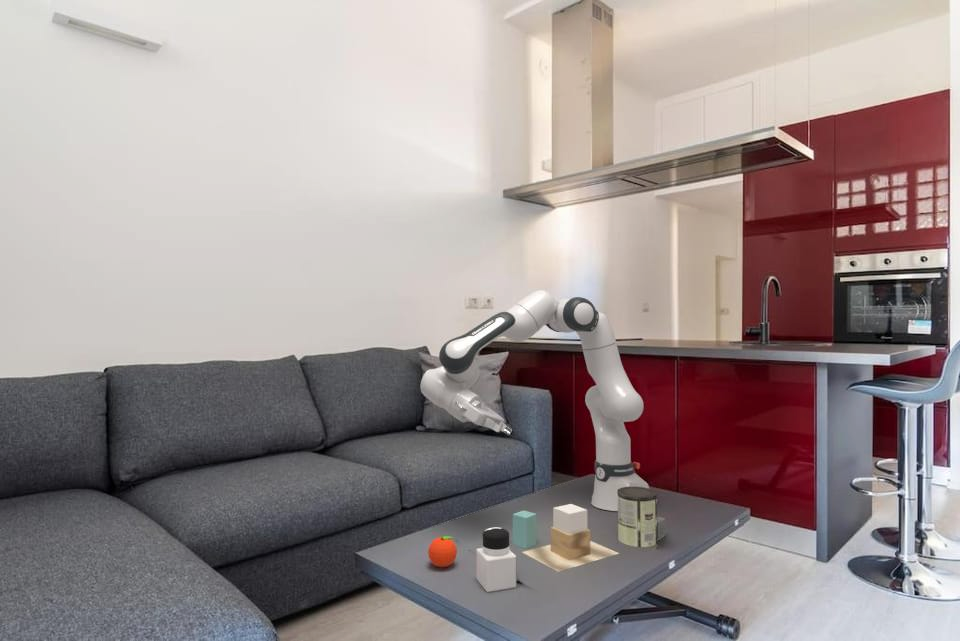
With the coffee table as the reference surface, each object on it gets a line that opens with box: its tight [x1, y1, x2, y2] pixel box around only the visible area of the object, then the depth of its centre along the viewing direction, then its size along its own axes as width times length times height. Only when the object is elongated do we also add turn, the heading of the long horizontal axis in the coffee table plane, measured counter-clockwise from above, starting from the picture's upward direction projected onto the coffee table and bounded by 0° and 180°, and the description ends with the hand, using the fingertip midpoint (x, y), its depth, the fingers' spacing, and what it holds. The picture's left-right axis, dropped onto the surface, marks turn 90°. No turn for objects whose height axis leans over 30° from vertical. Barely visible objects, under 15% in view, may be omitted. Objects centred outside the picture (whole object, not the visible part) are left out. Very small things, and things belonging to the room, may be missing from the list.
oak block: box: [550, 526, 591, 560], centre depth 144 cm, size 7×7×6 cm
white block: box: [552, 503, 588, 535], centre depth 144 cm, size 6×6×5 cm
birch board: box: [521, 540, 620, 573], centre depth 143 cm, size 20×14×1 cm
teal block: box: [512, 509, 538, 550], centre depth 150 cm, size 4×4×9 cm
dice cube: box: [657, 516, 666, 539], centre depth 158 cm, size 5×5×5 cm
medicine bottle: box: [475, 527, 517, 593], centre depth 129 cm, size 7×7×12 cm
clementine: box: [427, 535, 459, 568], centre depth 139 cm, size 8×7×7 cm
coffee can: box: [617, 487, 658, 549], centre depth 152 cm, size 10×10×14 cm
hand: (505, 431), depth 159 cm, fingers open, 8 cm apart
